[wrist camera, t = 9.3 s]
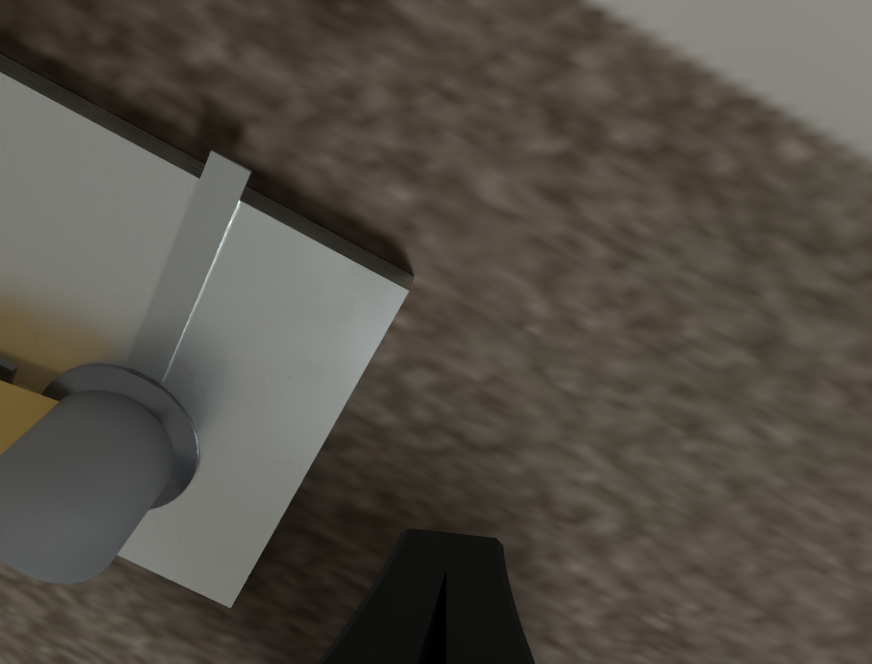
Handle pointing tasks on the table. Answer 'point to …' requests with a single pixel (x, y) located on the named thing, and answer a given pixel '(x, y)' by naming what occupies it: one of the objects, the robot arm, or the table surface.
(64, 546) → the handle
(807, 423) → the table surface
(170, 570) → the base
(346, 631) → the robot arm
